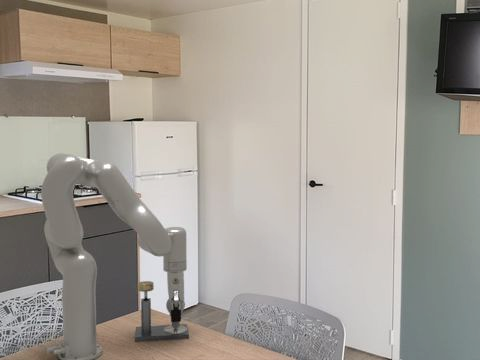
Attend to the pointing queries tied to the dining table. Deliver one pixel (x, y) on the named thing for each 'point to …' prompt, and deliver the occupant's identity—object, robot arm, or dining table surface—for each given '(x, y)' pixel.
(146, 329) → the metal press stand
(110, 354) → the dining table surface
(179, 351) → the dining table surface
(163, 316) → the dining table surface
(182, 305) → the lightbulb
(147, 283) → the brass knob
